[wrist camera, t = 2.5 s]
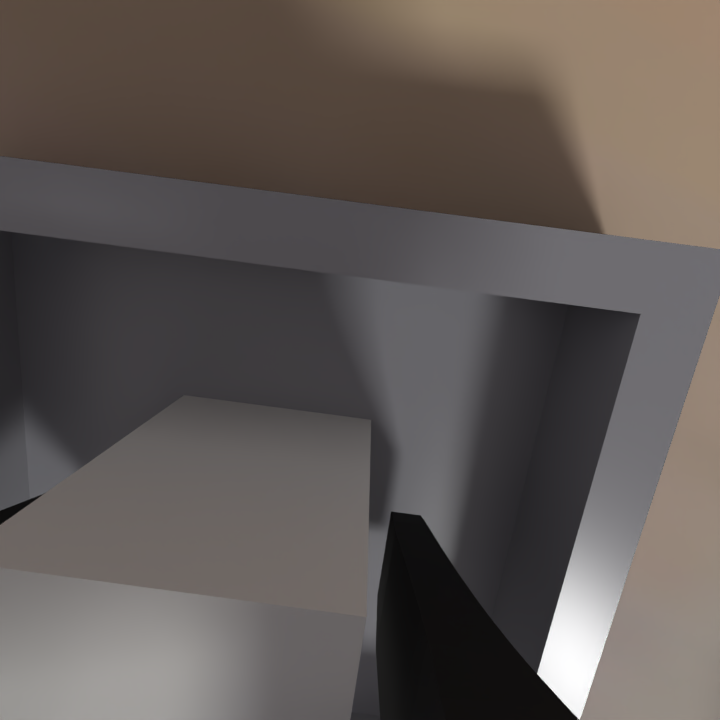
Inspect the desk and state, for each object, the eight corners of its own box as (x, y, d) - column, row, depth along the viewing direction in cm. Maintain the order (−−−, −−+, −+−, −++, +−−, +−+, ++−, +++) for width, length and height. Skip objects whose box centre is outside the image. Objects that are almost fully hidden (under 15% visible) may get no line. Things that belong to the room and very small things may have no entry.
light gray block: (343, 613, 10) (313, 950, 5) (178, 591, 10) (-8, 905, 5) (370, 419, 9) (366, 616, 4) (184, 394, 9) (-52, 561, 4)
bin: (487, 727, 12) (525, 884, 9) (30, 666, 12) (-83, 800, 9) (612, 254, 9) (734, 251, 6) (-8, 173, 9) (-201, 130, 6)
